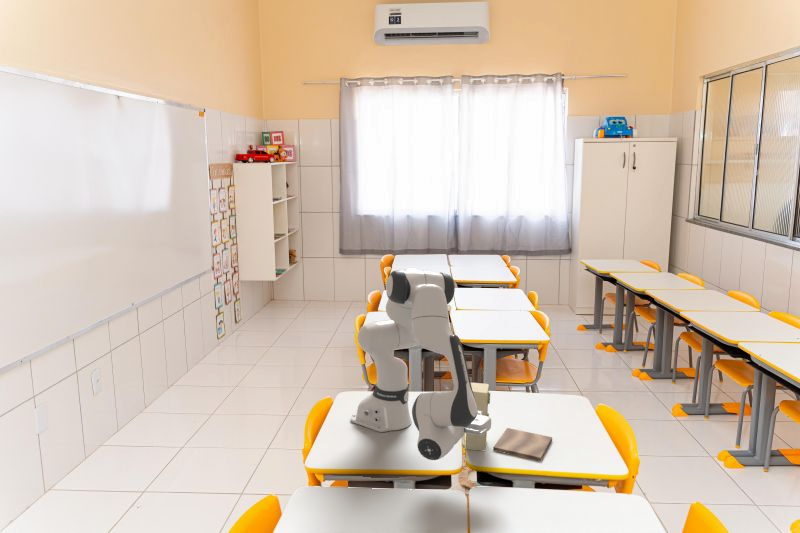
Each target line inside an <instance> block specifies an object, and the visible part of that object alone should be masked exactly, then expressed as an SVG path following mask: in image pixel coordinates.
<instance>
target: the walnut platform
mask: <svg viewBox="0 0 800 533" xmlns="http://www.w3.org/2000/svg"><path fill="white" fill-rule="evenodd" d="M552 441H553V437H552V436H548V435H543V434H539V433H533V432H528V431H523V430H520V429H514V428H509V427H507V428H506V429H505V430H504V431H503V433H502V434H501V436H500V437H499V438H498V440H497V442H496V443H495V444H494V445H493V447H492V448H493V449H492V450H493V451H494V450H497V451H496V452H498V451H501V452H500V453H503V452H505V453H504V454H507V453H509V455H512V456H516V457H519V458H520V457H521V458H525V459H530V460H535V461H538V462H539V461H540V462H541V461H542V459H543V457H544V456H545V454H546V452H547V450H548V449H549V447H550V444H551V443H552Z"/></svg>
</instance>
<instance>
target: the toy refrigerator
mask: <svg viewBox="0 0 800 533" xmlns="http://www.w3.org/2000/svg"><path fill="white" fill-rule="evenodd" d="M470 383H471V387H472V391H473V393H474V396H475V400H476V403H477V410H478V411H482V412H483V413H482V415H484V416H489V417H490V413H488V412H489V410H488V409H489V405H490V404H491V392H490V391H489V388H490V384H488V383H481V382H480V383H479V382H470ZM487 432H488V431H487ZM487 432H486V433H485V434H483V435H473V434H468V433H465V449H466V450H470V449H471V451H477V450H485V451H486V446H487V438H488V437H487V434H488V433H487Z"/></svg>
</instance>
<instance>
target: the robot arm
mask: <svg viewBox="0 0 800 533" xmlns="http://www.w3.org/2000/svg"><path fill="white" fill-rule="evenodd" d="M455 287H456V286H455V281H454V279H453V277H452V275H450V274H448V273H445V272H437V271H436V272H435V271H429V270H420V269H417V268H413V267H408V268H404V269H397V270H393V271H391V272H390V274H388V277H387V279H386V282H385V290H386V295H387V298H388V299H387V302H386V304H385V313H386V315H387V317H388V318H389V319H384V320H378V321H373V322H369V323H367V324H364V325H363V326H361V327H360V329H359V331H358V332H357V343H358V345H359V347H360V348H361V350H362V351H364V353H367V354H368V355H369V356H370V357H371V358H372V360H373V361H374V366H375V369H376V382H375V384H373V385H372V387H370V392H372V393H370V394H369V395H367V396H366V397H365V398H363V399H362V400H361V401H360V402H359V404H358V406H357V409H356V411H355V412H354V413H352V414H351V417H350V422H351V423H354V424H356V425H360V426H362V427H365V428H368V429H370V430H373V431H375V432H379V433H384V432H385V433H386V432H389V431H399V430H403V429H406V428H408V427H410V426H411V424H412V421H413V423H414V426H415V427H416V429H417V431H418V439H417V445H416V446H417V450H418V452H419V454H420V455H421V456H422V457H423V458H425V459H427V460H430V461H438V460H440V459H443V458H444V457H445V456H447V455H448V454H449V453H450V452H451V450H452V449H453V448H454V447H455V445H456V444H458V442H459V441H460V440H461V439H462V438H463V437H464V435H466V433H468V434H473V435H483V434H485V433H486V432H489V431H490V430H491V428H492V419H491V417H490V415H489V416H484V415H482V413H483V412H482V411H478V410H477V403H476V400H475V396H474V393H473V391H472V387H471V383H472V382H471V379H470V374H469V369H468V365H467V359H466V356H465V351H464V347H463V344H462V342H461V339H460V337H459V336H458V335H456V333H455V334H454V332H453V331H452V329H451V326H450V320H449V319H450V318H449V317H450V316H449V307H448V305H449V304H450V303H451V302H452V300H453V298H454V296H455V291H456V290H455V289H456V288H455ZM418 345H419V347H421V348H423V349H425V350H428V351H430V352H432V353H437V354H440V355H443V356H444V357H445V358H446V360H447V361H448V364H449V369H450V372H451V373H450V374H451V378H452V383H453V390H450V391H432V392H422V393H420V394H418V396H417V397H416V398H415V400H414V402H413V404H412V408H411V414H410V409H409V397H410V396H409V394H410V393H409V385H408V366H407V364H406V362H405V361H404V360H403V359H401V358H398V357H396V356H395V354H394V352H395V351H396V350H404V349H408V348H412V347H415V346H418ZM411 415H412V418H411Z"/></svg>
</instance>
